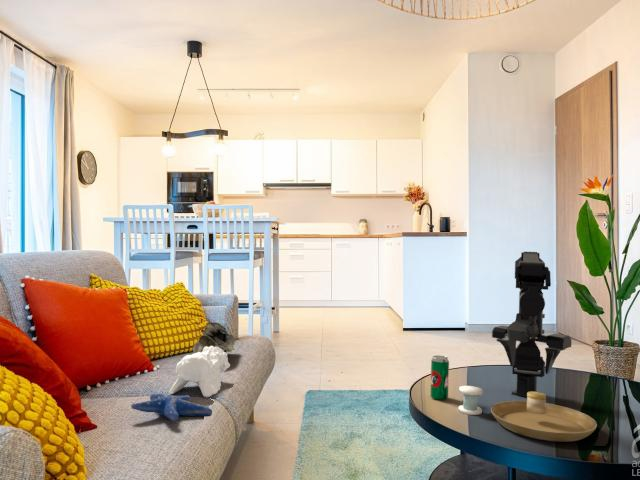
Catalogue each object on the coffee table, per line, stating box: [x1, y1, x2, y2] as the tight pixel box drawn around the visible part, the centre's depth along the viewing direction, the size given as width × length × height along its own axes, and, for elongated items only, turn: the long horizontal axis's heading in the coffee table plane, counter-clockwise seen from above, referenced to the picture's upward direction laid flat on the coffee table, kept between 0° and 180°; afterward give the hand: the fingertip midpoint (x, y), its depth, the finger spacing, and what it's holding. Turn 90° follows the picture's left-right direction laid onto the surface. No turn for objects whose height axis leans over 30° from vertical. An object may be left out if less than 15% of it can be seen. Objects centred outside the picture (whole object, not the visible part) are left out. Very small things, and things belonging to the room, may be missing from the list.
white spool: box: [458, 385, 483, 416], centre depth 134 cm, size 6×6×6 cm
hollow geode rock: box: [192, 321, 237, 354], centre depth 186 cm, size 28×13×15 cm
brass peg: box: [526, 391, 547, 414], centre depth 126 cm, size 4×4×4 cm
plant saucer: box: [490, 400, 598, 443], centre depth 124 cm, size 24×24×3 cm
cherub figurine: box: [168, 346, 231, 398], centre depth 148 cm, size 13×12×20 cm
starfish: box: [130, 393, 213, 422], centre depth 124 cm, size 19×19×5 cm
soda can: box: [429, 354, 450, 401], centre depth 145 cm, size 5×5×12 cm
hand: (529, 369), depth 129 cm, fingers open, 9 cm apart
